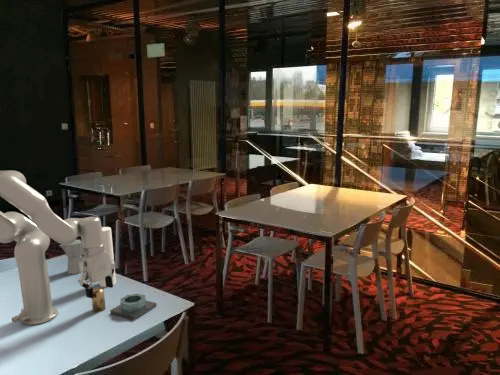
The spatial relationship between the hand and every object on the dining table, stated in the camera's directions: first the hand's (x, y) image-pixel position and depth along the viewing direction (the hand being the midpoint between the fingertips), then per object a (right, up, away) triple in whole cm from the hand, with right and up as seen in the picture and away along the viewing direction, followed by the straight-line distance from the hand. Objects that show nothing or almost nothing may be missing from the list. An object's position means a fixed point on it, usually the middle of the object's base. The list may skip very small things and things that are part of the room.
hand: (100, 292), depth 164 cm
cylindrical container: (-6, -3, +26) cm, 27 cm away
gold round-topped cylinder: (-1, -7, +1) cm, 7 cm away
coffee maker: (-25, 0, +42) cm, 49 cm away
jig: (+13, -7, -1) cm, 15 cm away
